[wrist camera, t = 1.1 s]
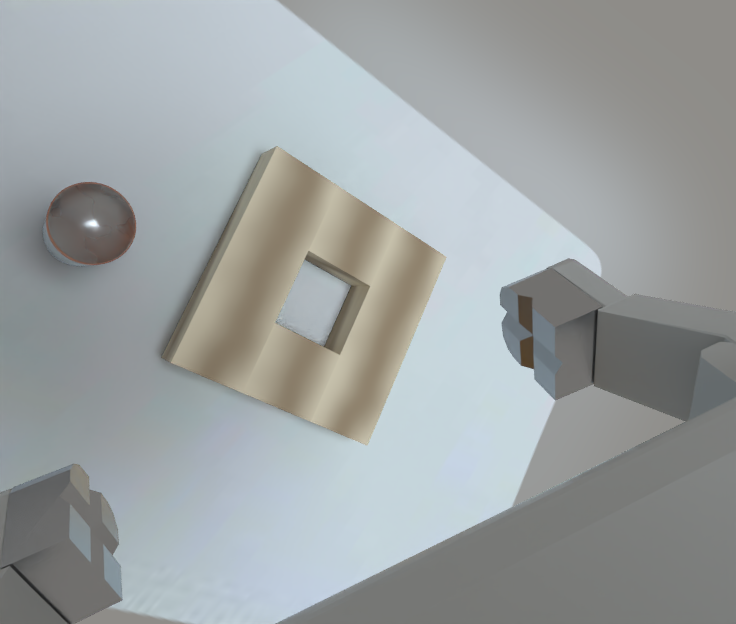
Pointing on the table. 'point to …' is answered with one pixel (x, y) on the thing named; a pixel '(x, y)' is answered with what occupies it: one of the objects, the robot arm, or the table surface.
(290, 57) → the table surface
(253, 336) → the wooden flat square block
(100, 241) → the steel peg
